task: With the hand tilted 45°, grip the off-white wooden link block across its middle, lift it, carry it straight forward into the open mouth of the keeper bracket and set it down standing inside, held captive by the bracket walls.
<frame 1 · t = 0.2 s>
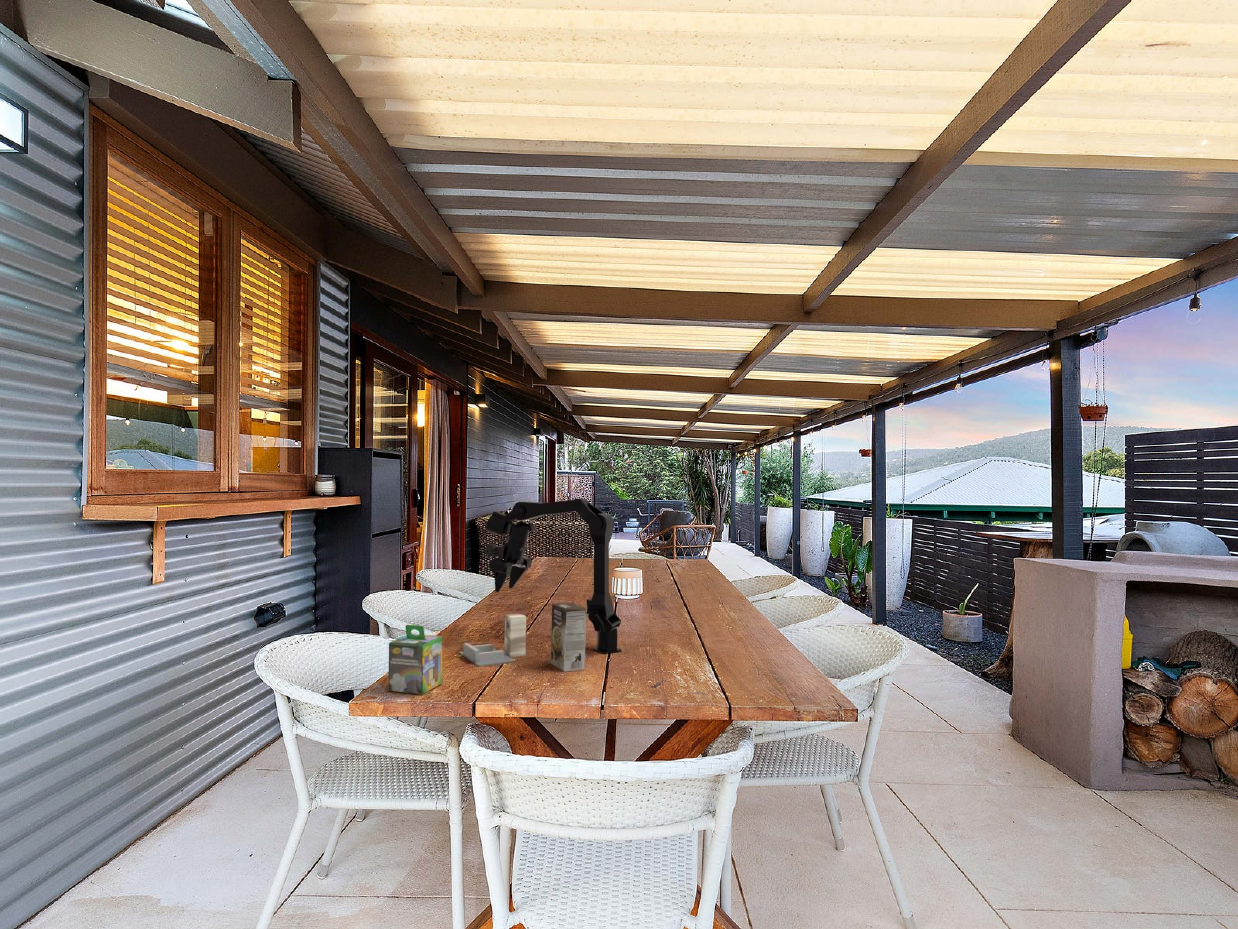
hand: (503, 590, 208), 15 cm above the table, fingers open, 9 cm apart
chalk box: (415, 689, 158), on the table
coffee box: (567, 667, 179), on the table
link block: (514, 654, 190), on the table
keeper bracket: (485, 657, 186), on the table
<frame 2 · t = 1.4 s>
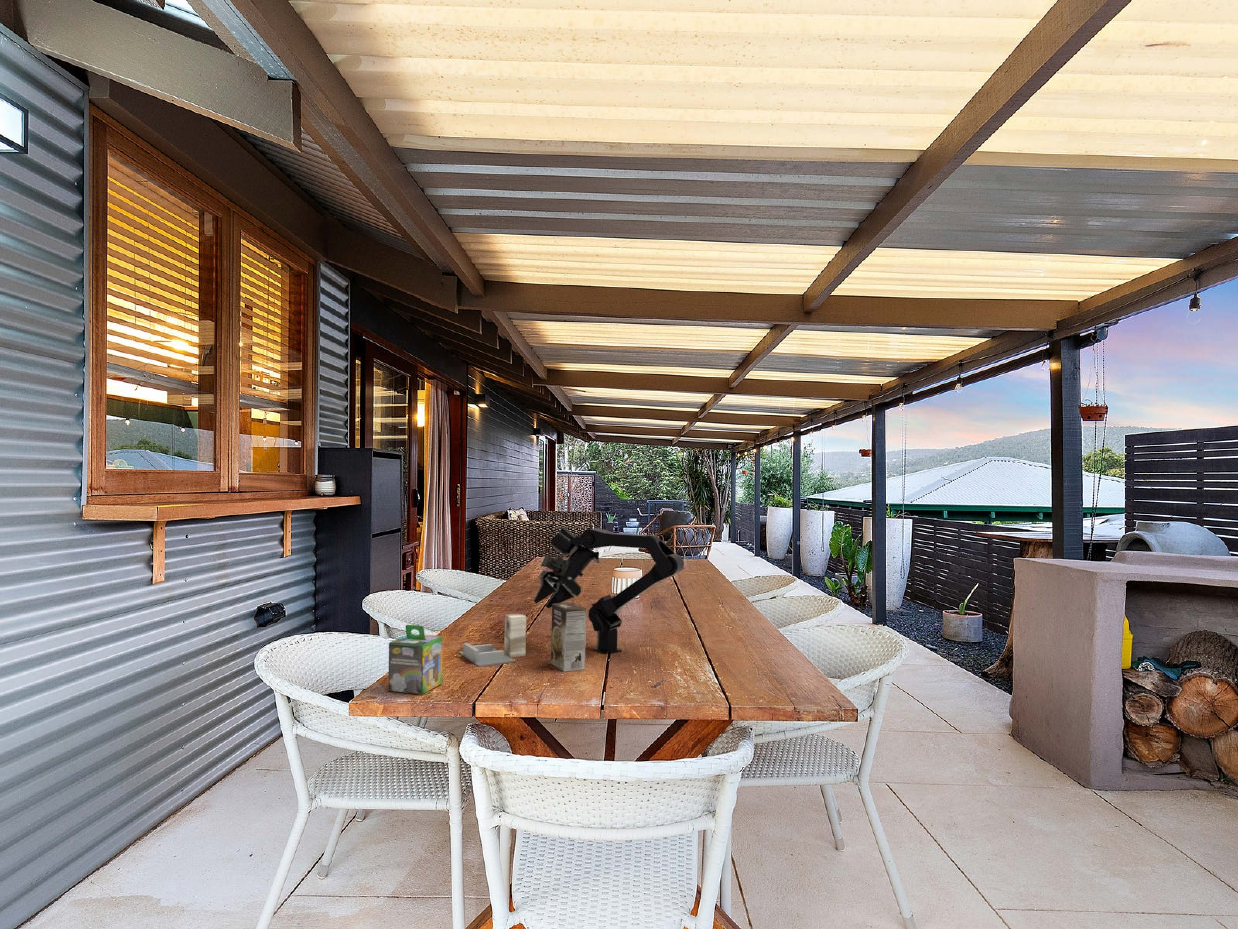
hand: (540, 604, 195), 13 cm above the table, fingers open, 9 cm apart
nothing on the table moved.
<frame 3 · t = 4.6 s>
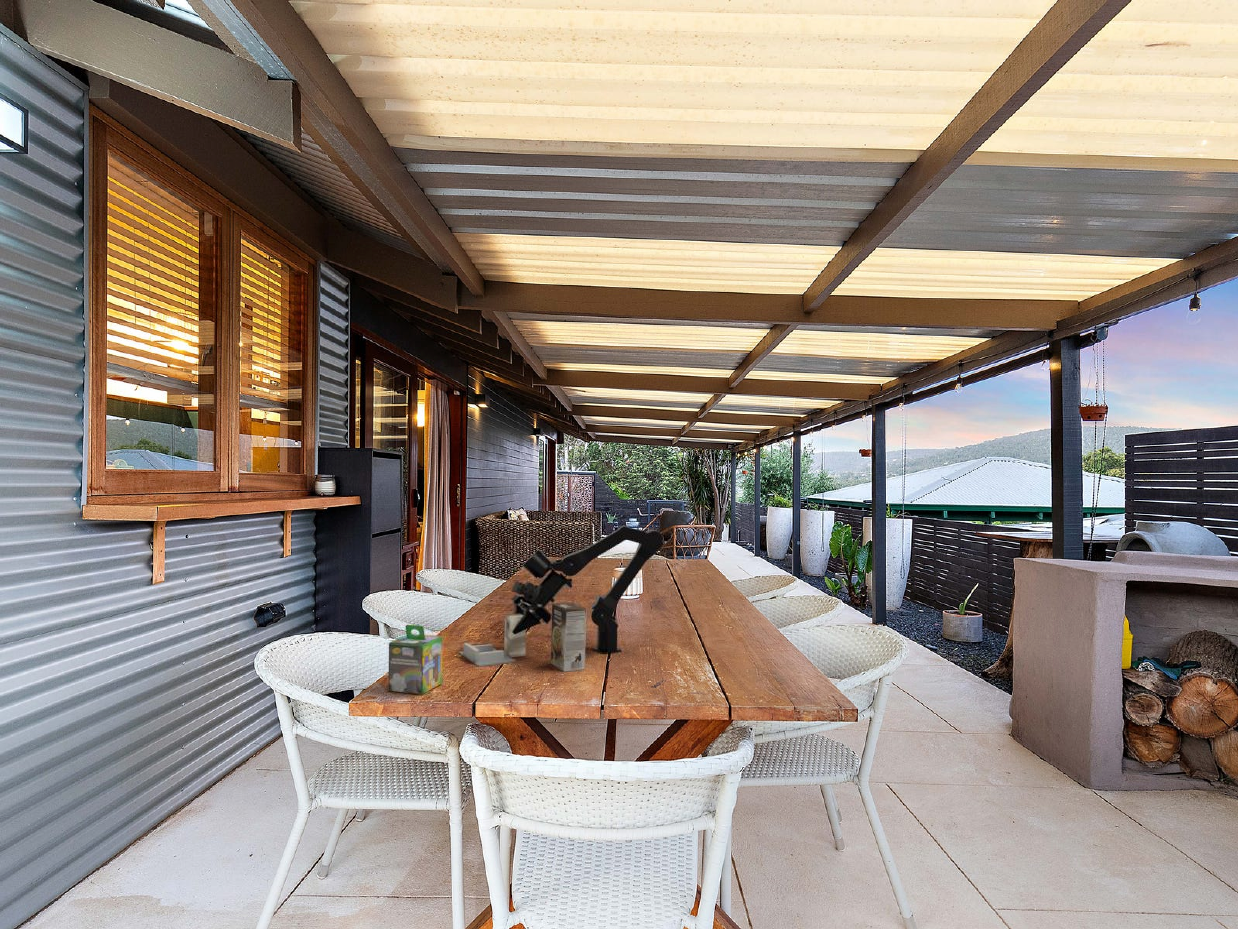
hand: (510, 631, 190), 7 cm above the table, fingers closed on link block, 5 cm apart
link block: (514, 654, 190), on the table, touching gripper
everything else where it was.
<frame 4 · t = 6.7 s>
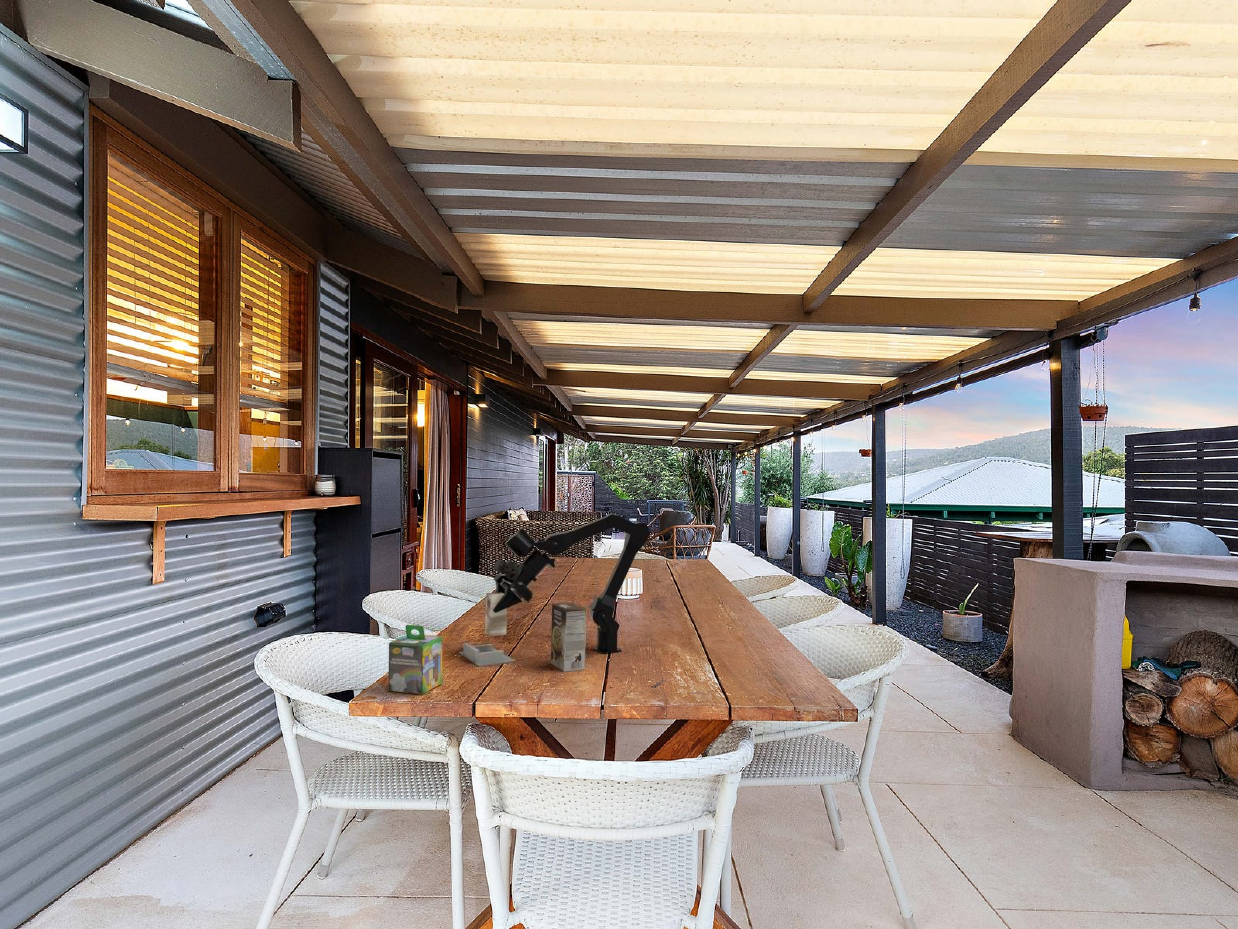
hand: (491, 610, 188), 13 cm above the table, fingers closed on link block, 5 cm apart
link block: (495, 633, 188), point 6 cm above the table, touching gripper
everything else where it was.
when the fingers open (8 cm above the table, at t = 8.8 s): link block drops 1 cm, resting on keeper bracket.
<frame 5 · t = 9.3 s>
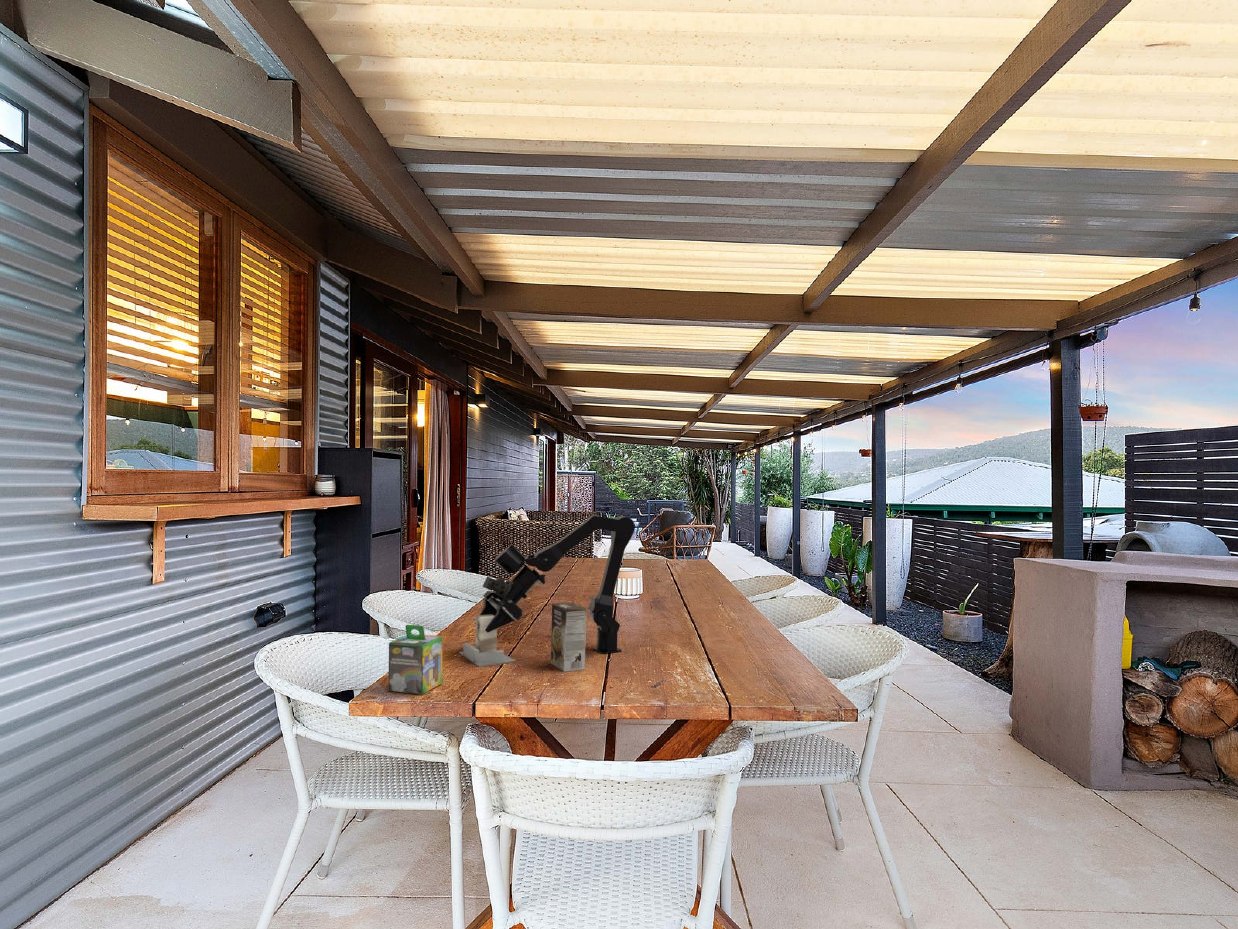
hand: (481, 628, 186), 8 cm above the table, fingers open, 9 cm apart
link block: (485, 656, 186), resting on keeper bracket
everything else where it was.
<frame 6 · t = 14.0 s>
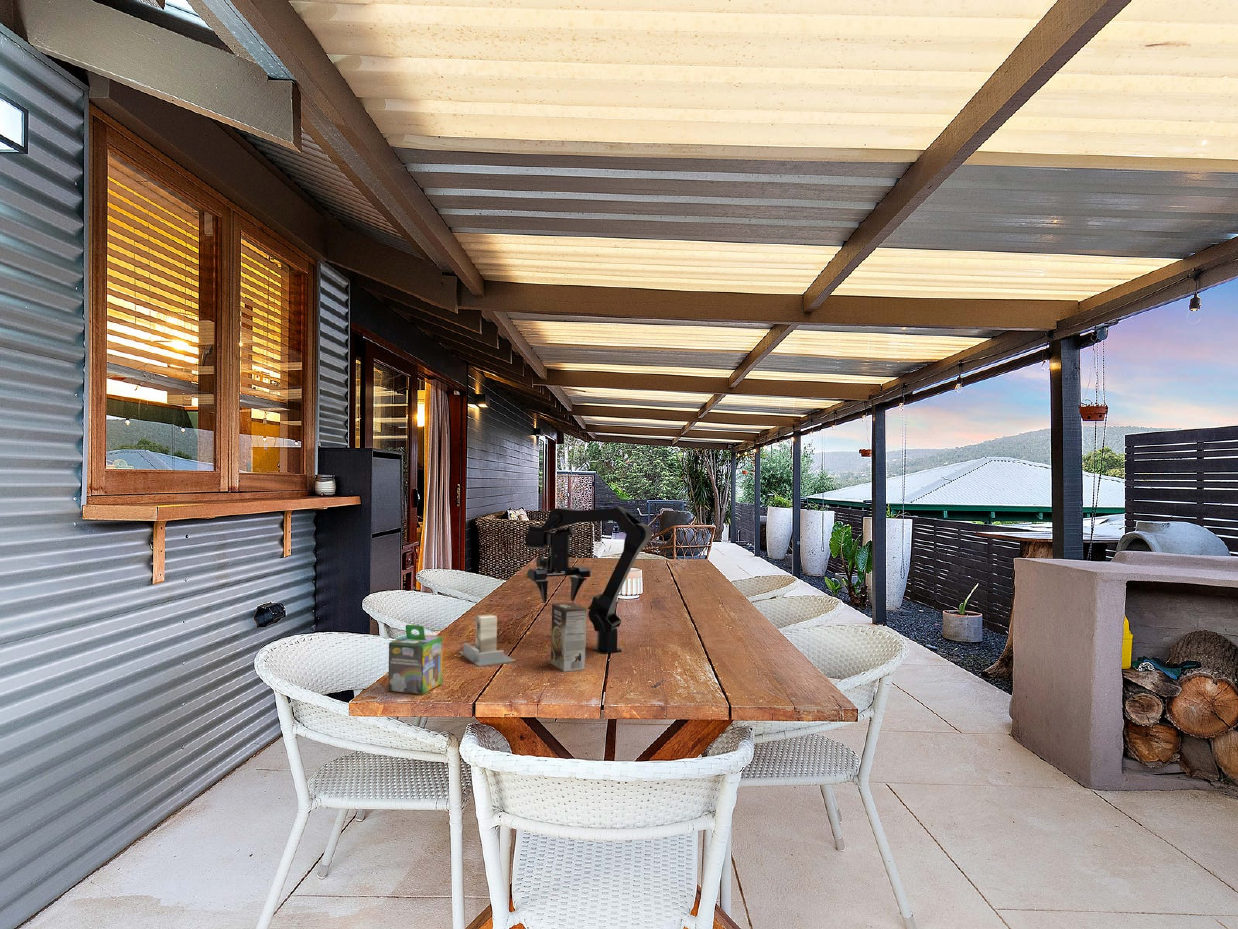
hand: (558, 602, 202), 13 cm above the table, fingers open, 9 cm apart
nothing on the table moved.
at the end: link block 0.1 cm off-centre on the keeper bracket, point 0.4 cm above the keeper bracket's base; link block tilted 0°; the gripper is holding nothing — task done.
